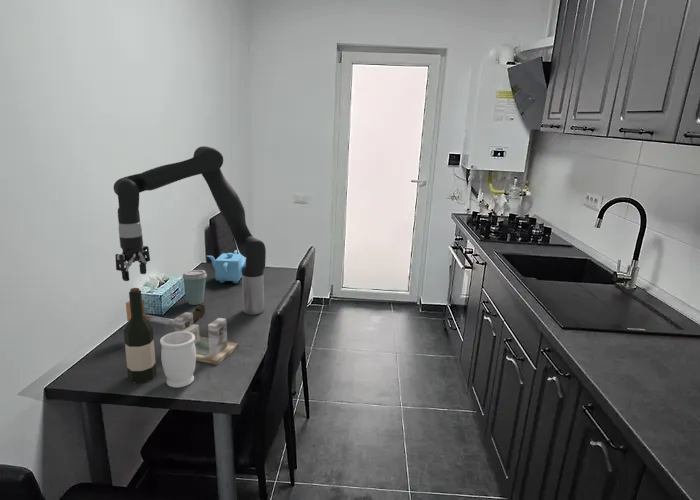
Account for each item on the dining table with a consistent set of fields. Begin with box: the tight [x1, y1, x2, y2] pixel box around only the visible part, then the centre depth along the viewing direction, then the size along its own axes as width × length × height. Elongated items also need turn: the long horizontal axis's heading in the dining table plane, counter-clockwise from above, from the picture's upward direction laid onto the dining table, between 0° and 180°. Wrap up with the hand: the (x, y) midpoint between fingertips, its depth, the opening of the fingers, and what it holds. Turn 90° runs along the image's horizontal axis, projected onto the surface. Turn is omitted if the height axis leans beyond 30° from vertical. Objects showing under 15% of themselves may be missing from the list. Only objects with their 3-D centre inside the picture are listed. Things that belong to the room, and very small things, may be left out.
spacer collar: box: [183, 323, 200, 344], centre depth 167 cm, size 6×2×6 cm, turn 162°
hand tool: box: [192, 304, 206, 324], centre depth 191 cm, size 19×4×5 cm, turn 167°
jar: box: [159, 331, 197, 388], centre depth 145 cm, size 11×10×15 cm
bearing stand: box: [173, 311, 240, 366], centre depth 165 cm, size 14×22×12 cm, turn 73°
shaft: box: [125, 300, 186, 327], centre depth 170 cm, size 4×24×8 cm, turn 73°
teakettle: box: [206, 249, 246, 284], centre depth 242 cm, size 19×19×15 cm
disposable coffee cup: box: [182, 269, 208, 306], centre depth 210 cm, size 11×11×15 cm
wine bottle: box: [123, 287, 157, 383], centre depth 145 cm, size 8×8×30 cm
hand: (135, 277), depth 170 cm, fingers open, 8 cm apart
